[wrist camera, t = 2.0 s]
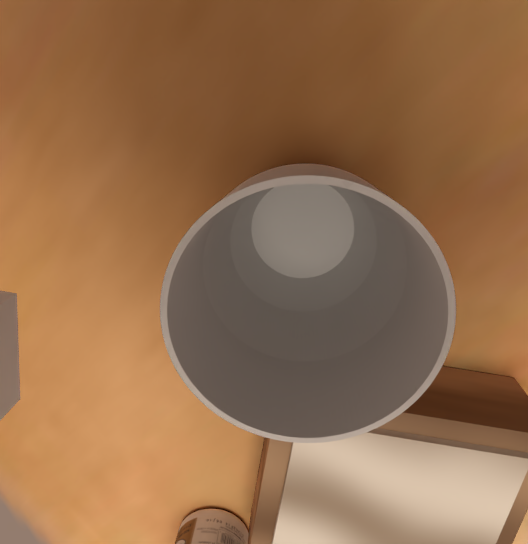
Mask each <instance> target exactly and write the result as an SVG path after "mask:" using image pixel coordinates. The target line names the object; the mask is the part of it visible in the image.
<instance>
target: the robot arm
mask: <svg viewBox="0 0 528 544" xmlns="http://www.w3.org/2000/svg"><path fill="white" fill-rule="evenodd" d="M19 400H20V378H19V348H18V318H17V293H11V292H5V291H0V420H1V419H2V418H3V417H4V416H5V415H6V414H7V413H8V412H9V411H10V409H11V408H12V407H13V406H14V405H15V404H16V403H17V402H18V401H19Z"/></svg>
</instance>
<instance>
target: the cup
mask: <svg viewBox="0 0 528 544" xmlns="http://www.w3.org/2000/svg"><path fill="white" fill-rule="evenodd" d="M160 319H161V328H162V333H163V338H164V342H165V345H166V348H167V351H168V354H169V356H170V358H171V361H172V363H173V365H174V367H175V369H176V370H177V372H178V374H179V375H180V377H181V378H182V380H183V381H184V383H185V384H186V385H187V387H188V388H189V389H190V390H191V392H192V393H193V394H194V395H195V396H196V397H197V398H198V399H199V400H200V401H201V402H202V403H203V404H204V405H205V406H207V407H208V408H209V409H210V410H211V411H213V412H214V413H215V414H217V415H218V416H220V417H221V418H223V419H224V420H226V421H228V422H229V423H231V424H233V425H235V426H237V427H239V428H241V429H243V430H246V431H248V432H251V433H253V434H256V435H259V436H262V437H266V438H270V439H274V440H279V441H285V442H294V443H323V442H331V441H337V440H343V439H347V438H351V437H354V436H358V435H361V434H363V433H366V432H369V431H371V430H373V429H376V428H378V427H380V426H382V425H384V424H385V423H387V422H389V421H391V420H392V419H394V418H395V417H397V416H398V415H400V414H401V413H403V412H404V411H405V410H406V409H408V408H409V407H410V406H411V405H412V404H413V403H414V402H415V401H417V400H418V399H419V398H420V396H421V395H422V394H423V393H424V392H425V391H426V390H427V388H428V387H429V386H430V385H431V383H432V382H433V380H434V379H435V377H436V376H437V374H438V373H439V371H440V369H441V367H442V365H443V363H444V361H445V359H446V357H447V354H448V352H449V349H450V346H451V342H452V339H453V334H454V329H455V321H456V298H455V290H454V285H453V281H452V277H451V273H450V270H449V267H448V265H447V262H446V260H445V258H444V256H443V254H442V252H441V250H440V248H439V246H438V245H437V243H436V242H435V240H434V239H433V237H432V236H431V234H430V233H429V232H428V231H427V229H426V228H425V227H424V226H423V225H422V224H421V222H420V221H419V220H418V219H417V218H416V217H415V216H413V215H412V214H411V213H410V212H409V211H408V210H406V209H405V208H404V207H403V206H401V205H400V204H398V203H397V202H396V201H394V200H393V199H391V198H390V197H388V196H387V195H386V194H384V193H383V192H381V191H380V190H378V189H377V188H376V187H374V186H373V185H371V184H370V183H368V182H367V181H365V180H364V179H362V178H360V177H358V176H356V175H354V174H352V173H350V172H348V171H345V170H342V169H339V168H336V167H332V166H327V165H321V164H291V165H284V166H280V167H276V168H272V169H269V170H266V171H264V172H261V173H259V174H257V175H255V176H253V177H251V178H249V179H247V180H246V181H244V182H243V183H241V184H240V185H238V186H237V187H236V188H235V189H233V190H232V191H231V192H230V193H229V194H227V195H226V196H225V197H224V198H222V199H221V200H220V201H219V202H218V203H216V204H215V205H214V206H213V207H212V208H210V209H209V210H208V211H207V212H205V213H204V214H203V215H202V216H201V217H200V218H199V219H198V220H197V221H196V222H195V223H194V224H193V225H192V227H191V228H190V229H189V230H188V231H187V233H186V234H185V235H184V237H183V238H182V240H181V241H180V243H179V244H178V246H177V248H176V249H175V251H174V253H173V255H172V257H171V260H170V262H169V264H168V267H167V270H166V273H165V276H164V280H163V285H162V290H161V299H160Z"/></svg>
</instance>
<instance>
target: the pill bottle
mask: <svg viewBox="0 0 528 544" xmlns="http://www.w3.org/2000/svg"><path fill="white" fill-rule="evenodd" d="M248 535H249V533H248V530H247V528H246V526H245V525H244V523H243V522H242V521H241V520H240V519H239V518H238V517H236V516H235V515H233V514H231V513H229V512H227V511H224V510H220V509H203V510H199V511H196V512H194V513H192V514H190V515H189V516H187V517H186V518H185V519H184V520H183V522H182V523H181V525H180V528H179V531H178V535H177V538H176V542H175V544H248Z"/></svg>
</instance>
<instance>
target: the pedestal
mask: <svg viewBox="0 0 528 544" xmlns="http://www.w3.org/2000/svg"><path fill="white" fill-rule="evenodd" d="M527 510H528V396H527V394H526V393H525V392H524V390H523V389H522V388H521V386H520V385H519V384H518V382H517V381H516V380H515V378H513V377H507V376H500V375H494V374H488V373H482V372H476V371H469V370H463V369H457V368H451V367H445V366H442V367H441V369H440V371H439V373H438V374H437V376H436V377H435V379H434V380H433V382H432V383H431V385H430V386H429V387H428V388H427V390H426V391H425V392H424V393H423V394H422V395H421V396H420V398H419V399H418V400H417V401H415V402H414V403H413V404H412V405H411V406H410V407H409V408H408V409H406V410H405V411H404V412H403V413H401V414H400V415H398V416H397V417H395V418H394V419H392V420H391V421H389V422H387V423H385V424H384V425H382V426H380V427H378V428H376V429H373V430H371V431H369V432H366V433H363V434H361V435H358V436H354V437H351V438H347V439H343V440H337V441H331V442H323V443H294V442H285V441H279V440H274V439H270V438H266V437H265V438H264V444H263V449H262V455H261V460H260V466H259V471H258V477H257V483H256V488H255V494H254V499H253V505H252V510H251V517H250V526H249V535H248V544H512V543H513V541H514V538H515V536H516V534H517V532H518V530H519V527H520V525H521V523H522V521H523V518H524V516H525V514H526V512H527Z"/></svg>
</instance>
